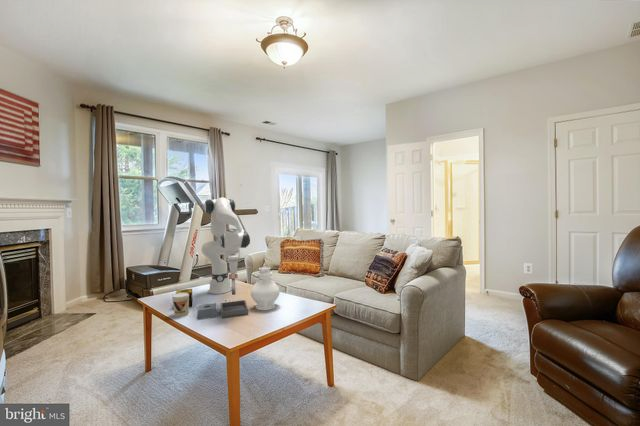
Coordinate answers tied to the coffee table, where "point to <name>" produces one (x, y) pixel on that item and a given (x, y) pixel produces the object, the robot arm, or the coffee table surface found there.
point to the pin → (233, 283)
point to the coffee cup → (181, 304)
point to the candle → (188, 293)
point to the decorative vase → (265, 290)
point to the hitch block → (207, 311)
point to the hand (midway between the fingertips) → (233, 277)
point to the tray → (234, 308)
